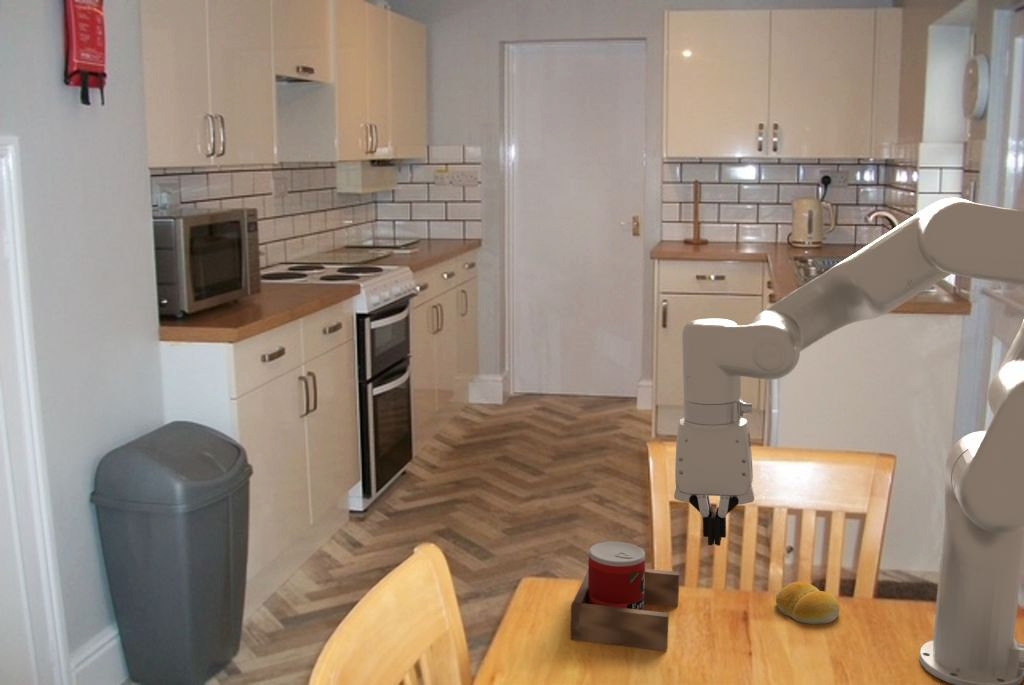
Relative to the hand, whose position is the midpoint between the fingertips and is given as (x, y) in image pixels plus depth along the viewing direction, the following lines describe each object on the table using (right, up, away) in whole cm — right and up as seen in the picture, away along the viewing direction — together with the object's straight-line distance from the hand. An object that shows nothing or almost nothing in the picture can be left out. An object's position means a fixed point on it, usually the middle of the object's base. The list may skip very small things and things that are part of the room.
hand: (714, 541), depth 145 cm
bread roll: (+15, -13, +11) cm, 23 cm away
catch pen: (-11, -13, +7) cm, 18 cm away
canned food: (-13, -13, +6) cm, 19 cm away
